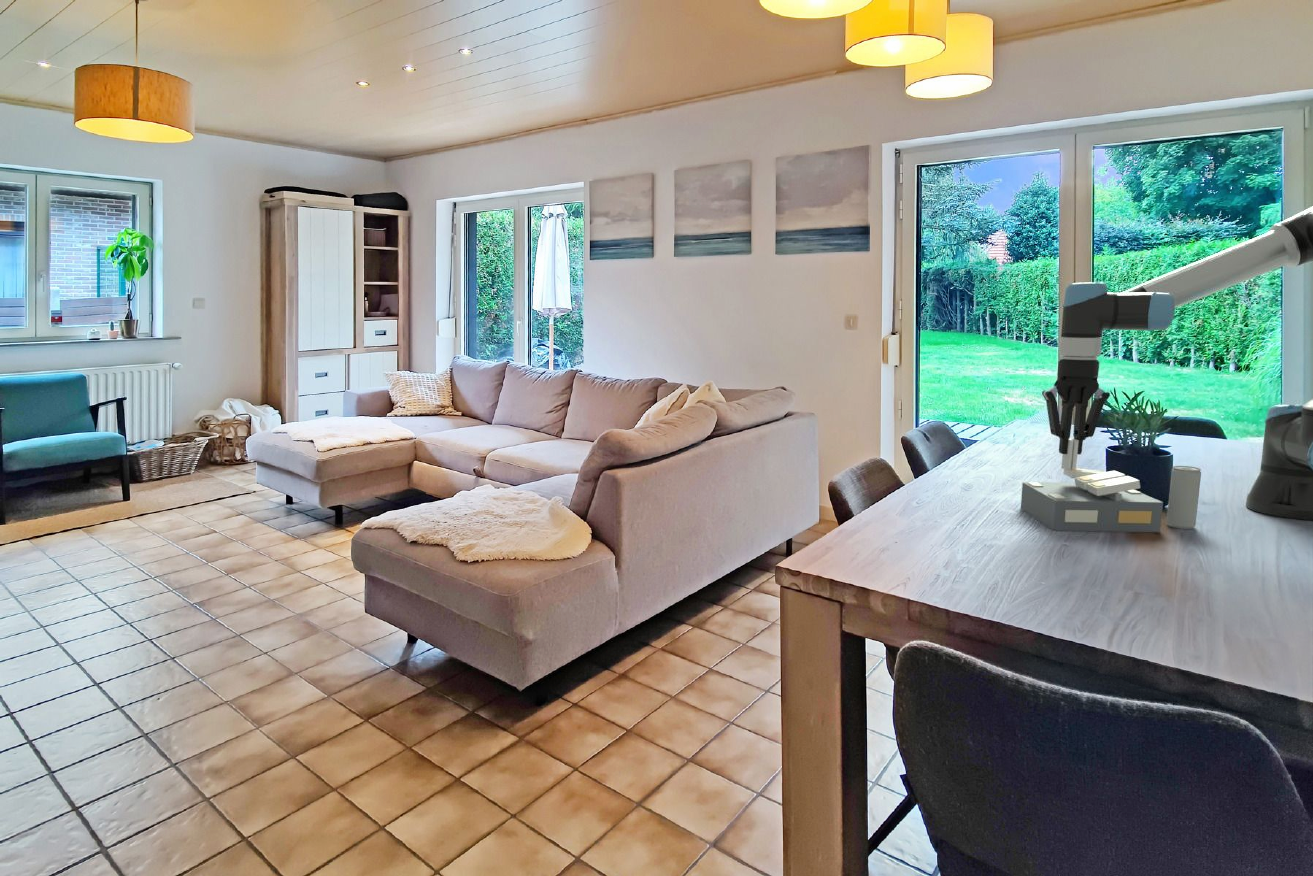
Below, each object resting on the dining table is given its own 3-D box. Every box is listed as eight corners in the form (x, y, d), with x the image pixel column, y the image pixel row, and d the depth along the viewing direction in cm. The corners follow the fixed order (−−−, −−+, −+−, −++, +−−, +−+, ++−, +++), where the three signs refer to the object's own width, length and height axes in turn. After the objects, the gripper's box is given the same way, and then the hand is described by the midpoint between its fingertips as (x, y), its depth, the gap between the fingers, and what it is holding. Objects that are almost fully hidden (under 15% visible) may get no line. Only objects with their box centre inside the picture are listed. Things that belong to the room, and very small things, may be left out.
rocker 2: (1115, 477, 157) (1114, 469, 157) (1126, 482, 153) (1124, 473, 153) (1075, 485, 158) (1074, 477, 158) (1084, 489, 154) (1083, 481, 154)
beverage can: (1199, 530, 149) (1206, 470, 147) (1172, 529, 150) (1178, 470, 148) (1188, 523, 153) (1194, 466, 151) (1161, 522, 154) (1167, 465, 152)
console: (1116, 510, 164) (1119, 476, 163) (1160, 532, 147) (1164, 495, 146) (1020, 508, 166) (1022, 475, 165) (1053, 530, 149) (1056, 494, 148)
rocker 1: (1101, 478, 162) (1103, 470, 162) (1111, 482, 158) (1112, 474, 158) (1063, 473, 163) (1064, 465, 163) (1071, 477, 159) (1073, 469, 159)
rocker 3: (1129, 483, 152) (1127, 475, 151) (1140, 488, 148) (1139, 479, 147) (1087, 491, 153) (1086, 482, 152) (1097, 495, 149) (1096, 487, 148)
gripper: (1103, 357, 160) (1092, 466, 164) (1038, 356, 161) (1029, 465, 165) (1122, 359, 153) (1110, 473, 157) (1053, 358, 154) (1043, 471, 158)
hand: (1068, 469), depth 161 cm, fingers closed
